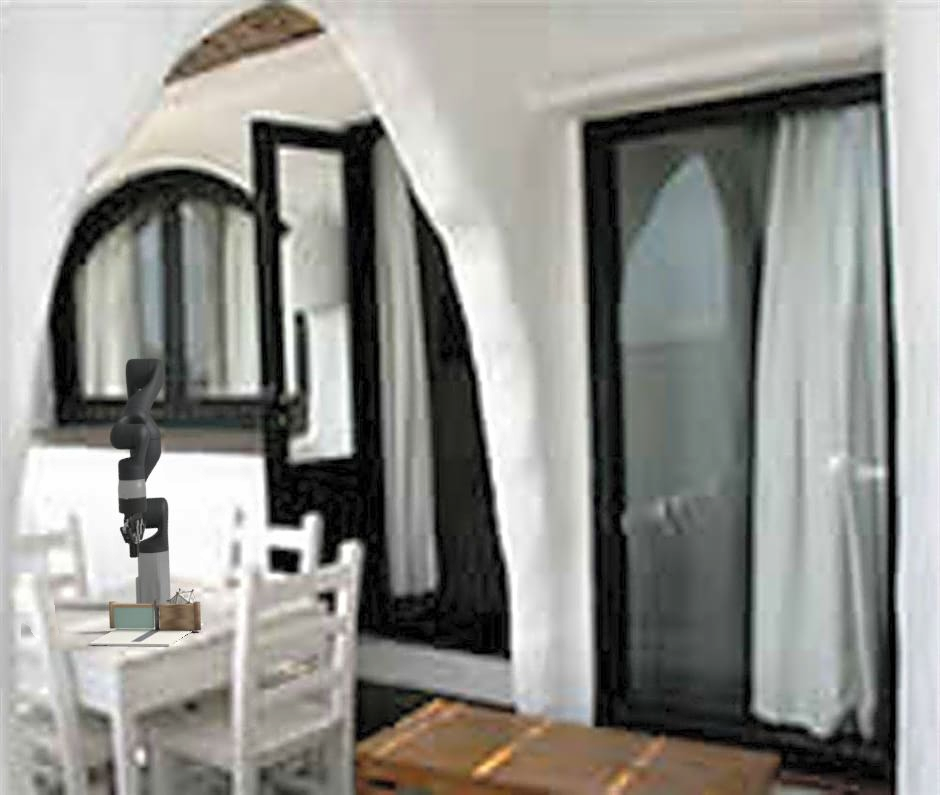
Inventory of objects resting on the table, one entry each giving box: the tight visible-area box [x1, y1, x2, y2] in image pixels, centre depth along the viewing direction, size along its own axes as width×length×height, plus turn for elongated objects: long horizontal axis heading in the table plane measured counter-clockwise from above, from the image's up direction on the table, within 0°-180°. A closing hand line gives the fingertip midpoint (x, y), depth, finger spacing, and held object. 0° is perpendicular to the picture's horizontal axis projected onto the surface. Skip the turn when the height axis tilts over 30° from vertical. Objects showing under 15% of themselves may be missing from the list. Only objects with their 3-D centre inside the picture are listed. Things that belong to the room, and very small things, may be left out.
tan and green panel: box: [108, 601, 155, 630], centre depth 321 cm, size 13×2×7 cm, turn 82°
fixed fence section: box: [154, 600, 202, 632], centre depth 319 cm, size 13×2×8 cm, turn 82°
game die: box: [166, 588, 202, 607], centre depth 339 cm, size 9×8×10 cm
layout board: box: [88, 622, 204, 647], centre depth 317 cm, size 24×24×1 cm
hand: (134, 557), depth 326 cm, fingers closed
